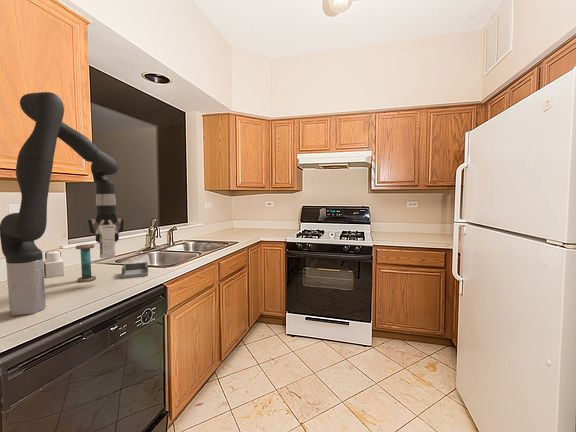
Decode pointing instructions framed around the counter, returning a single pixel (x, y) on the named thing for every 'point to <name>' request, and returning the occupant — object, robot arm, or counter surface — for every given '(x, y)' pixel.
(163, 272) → the counter surface
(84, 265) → the bobbin post
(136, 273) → the gray square tray
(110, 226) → the syrup box
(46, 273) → the medicine bottle
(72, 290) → the counter surface
